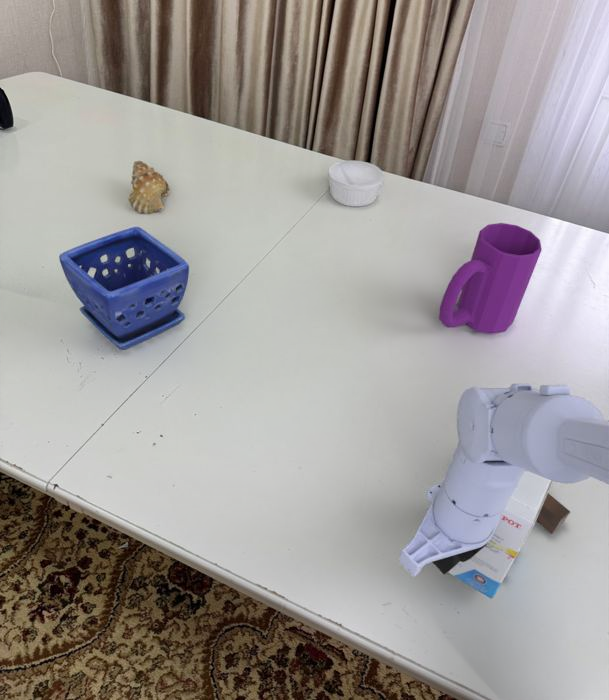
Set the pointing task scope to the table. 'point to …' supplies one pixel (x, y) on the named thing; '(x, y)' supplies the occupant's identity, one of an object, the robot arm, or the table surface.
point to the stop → (552, 514)
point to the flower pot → (128, 285)
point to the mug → (492, 280)
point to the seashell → (147, 189)
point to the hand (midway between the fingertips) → (441, 563)
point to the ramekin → (355, 182)
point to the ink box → (505, 537)
